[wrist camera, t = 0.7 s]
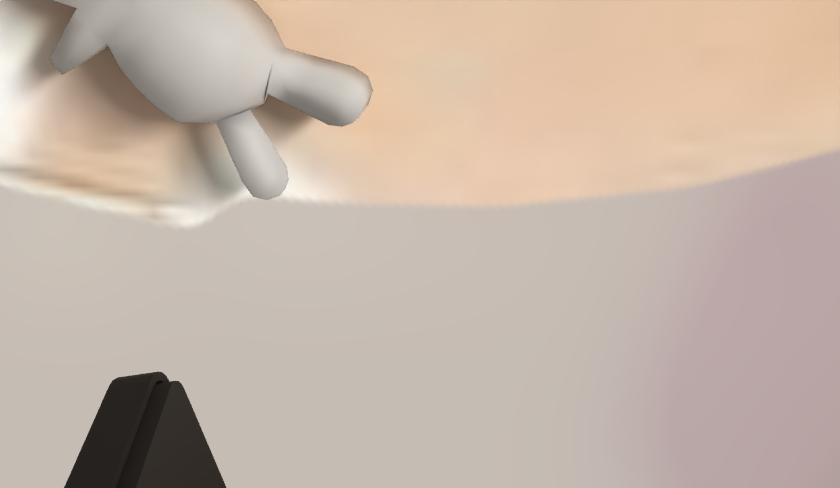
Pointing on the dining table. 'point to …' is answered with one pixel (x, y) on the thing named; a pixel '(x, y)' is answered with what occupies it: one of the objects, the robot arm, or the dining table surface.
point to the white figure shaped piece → (214, 71)
